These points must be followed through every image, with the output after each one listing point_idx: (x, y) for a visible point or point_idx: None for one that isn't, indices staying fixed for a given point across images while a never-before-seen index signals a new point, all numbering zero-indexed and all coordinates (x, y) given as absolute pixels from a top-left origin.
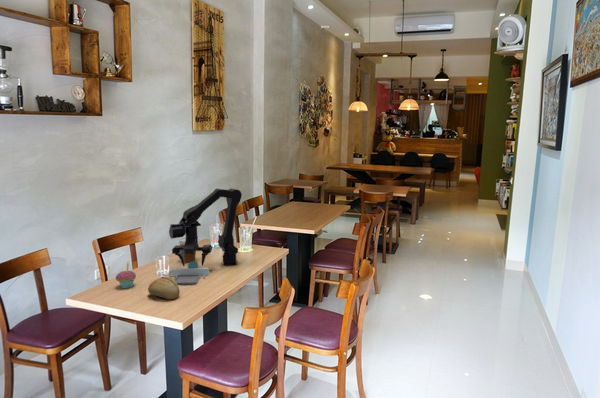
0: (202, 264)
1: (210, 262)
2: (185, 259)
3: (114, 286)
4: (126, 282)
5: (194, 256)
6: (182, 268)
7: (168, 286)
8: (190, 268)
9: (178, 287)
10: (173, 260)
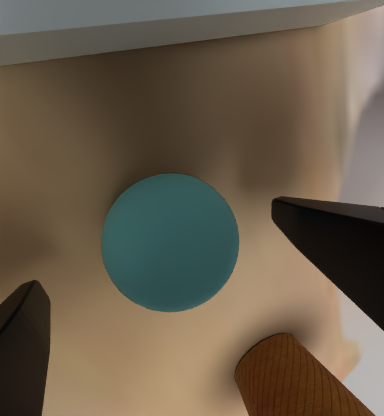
0: (14, 296)
1: (116, 413)
2: (294, 353)
3: None
4: None
5: (252, 409)
6: (272, 8)
7: None
8: (113, 8)
9: None
10: (340, 329)
